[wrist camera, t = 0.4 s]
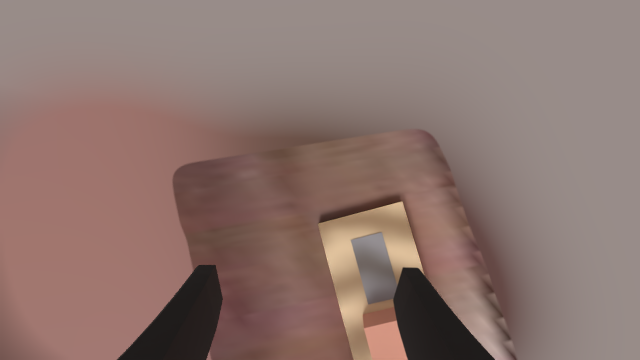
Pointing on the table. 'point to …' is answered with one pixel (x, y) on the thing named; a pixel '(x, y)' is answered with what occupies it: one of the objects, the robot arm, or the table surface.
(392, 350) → the block
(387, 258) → the board
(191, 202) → the table surface
